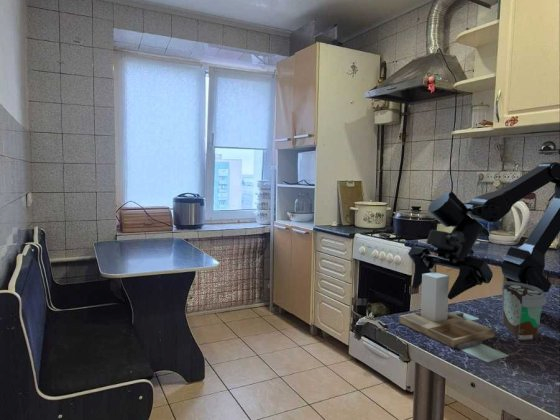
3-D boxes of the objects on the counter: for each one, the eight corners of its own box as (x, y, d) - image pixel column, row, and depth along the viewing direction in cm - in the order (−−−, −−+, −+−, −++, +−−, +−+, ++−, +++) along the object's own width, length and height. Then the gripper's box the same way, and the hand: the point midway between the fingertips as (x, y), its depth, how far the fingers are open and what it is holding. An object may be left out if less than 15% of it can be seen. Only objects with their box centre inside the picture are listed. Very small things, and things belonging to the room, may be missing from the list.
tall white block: (432, 318, 94) (434, 272, 93) (447, 323, 91) (449, 275, 90) (420, 321, 92) (422, 274, 91) (434, 326, 89) (436, 278, 88)
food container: (555, 348, 79) (558, 298, 78) (520, 345, 80) (523, 296, 80) (529, 325, 91) (532, 282, 90) (500, 323, 92) (502, 280, 92)
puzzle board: (456, 312, 100) (456, 304, 100) (548, 346, 80) (548, 336, 80) (398, 324, 92) (399, 315, 92) (485, 365, 72) (486, 354, 72)
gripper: (414, 213, 99) (381, 263, 94) (487, 221, 84) (453, 281, 79) (433, 242, 104) (403, 290, 99) (506, 254, 89) (475, 312, 84)
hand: (430, 293), depth 90 cm, fingers open, 9 cm apart
